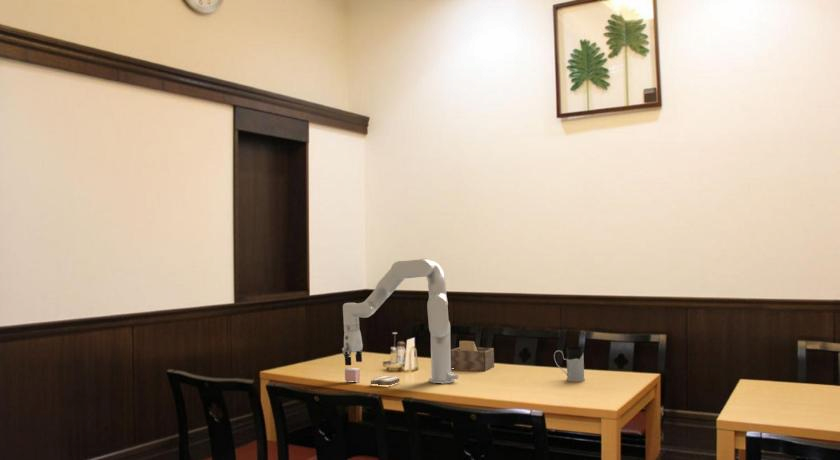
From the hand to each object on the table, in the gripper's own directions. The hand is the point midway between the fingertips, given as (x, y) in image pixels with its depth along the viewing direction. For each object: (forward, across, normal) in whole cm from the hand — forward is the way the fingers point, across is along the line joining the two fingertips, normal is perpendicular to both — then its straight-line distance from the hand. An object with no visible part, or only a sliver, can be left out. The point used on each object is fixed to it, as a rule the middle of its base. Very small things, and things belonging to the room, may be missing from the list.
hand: (353, 363), depth 325 cm
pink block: (+9, 0, +1) cm, 9 cm away
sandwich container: (+12, +56, -39) cm, 69 cm away
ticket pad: (+10, 0, -17) cm, 20 cm away
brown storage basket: (+11, +56, -39) cm, 69 cm away
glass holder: (+13, +40, -95) cm, 104 cm away
